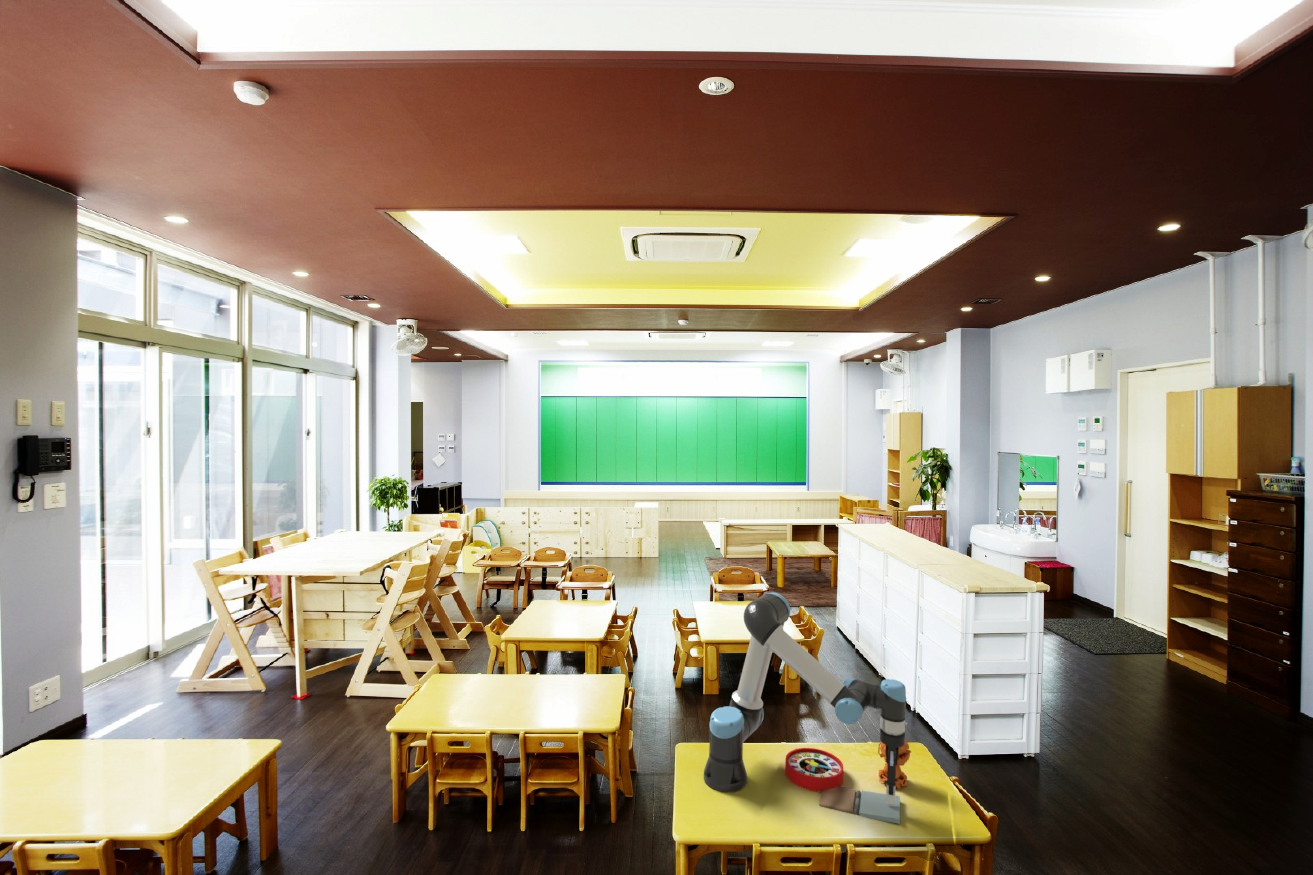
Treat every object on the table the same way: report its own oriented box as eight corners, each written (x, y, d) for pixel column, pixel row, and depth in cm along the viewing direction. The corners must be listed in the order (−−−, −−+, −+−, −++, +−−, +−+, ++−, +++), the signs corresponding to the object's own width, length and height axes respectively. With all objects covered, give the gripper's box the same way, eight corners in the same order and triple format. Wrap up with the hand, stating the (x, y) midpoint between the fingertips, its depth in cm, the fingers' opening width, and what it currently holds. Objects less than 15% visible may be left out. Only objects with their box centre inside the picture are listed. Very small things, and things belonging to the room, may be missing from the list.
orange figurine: (913, 795, 211) (915, 743, 211) (879, 791, 213) (881, 739, 213) (907, 777, 222) (908, 727, 222) (874, 773, 224) (876, 724, 224)
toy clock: (790, 743, 234) (845, 754, 227) (789, 758, 234) (845, 770, 227) (781, 770, 215) (841, 783, 208) (780, 786, 215) (840, 800, 208)
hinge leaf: (854, 816, 199) (853, 811, 199) (856, 794, 211) (856, 789, 211) (899, 823, 194) (899, 818, 194) (899, 800, 206) (899, 795, 206)
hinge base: (819, 808, 203) (819, 803, 203) (823, 786, 215) (823, 782, 215) (858, 817, 199) (858, 812, 199) (860, 795, 211) (860, 790, 211)
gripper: (905, 741, 193) (903, 816, 194) (904, 723, 205) (903, 794, 206) (879, 736, 196) (877, 811, 196) (880, 719, 208) (878, 788, 209)
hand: (890, 802), depth 201 cm, fingers closed
